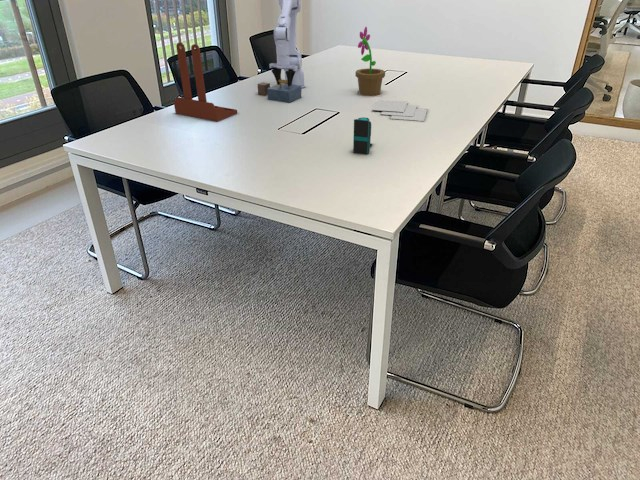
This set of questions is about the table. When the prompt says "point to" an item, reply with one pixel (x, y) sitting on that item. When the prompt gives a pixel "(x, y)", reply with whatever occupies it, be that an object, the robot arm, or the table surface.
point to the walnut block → (263, 88)
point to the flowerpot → (368, 71)
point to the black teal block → (362, 136)
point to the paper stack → (400, 110)
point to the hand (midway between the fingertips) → (284, 85)
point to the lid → (284, 87)
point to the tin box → (284, 95)
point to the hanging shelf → (201, 105)
